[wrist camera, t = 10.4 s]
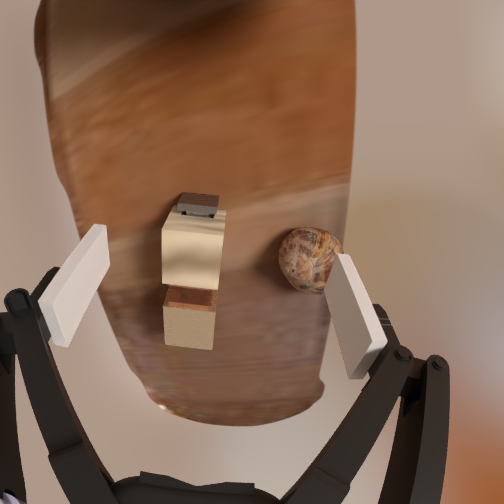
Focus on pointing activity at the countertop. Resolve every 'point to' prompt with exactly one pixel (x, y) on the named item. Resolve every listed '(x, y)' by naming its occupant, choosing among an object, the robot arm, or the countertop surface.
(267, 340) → the countertop surface
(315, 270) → the seashell
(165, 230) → the slotted tan cube
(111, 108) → the countertop surface
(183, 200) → the rail
